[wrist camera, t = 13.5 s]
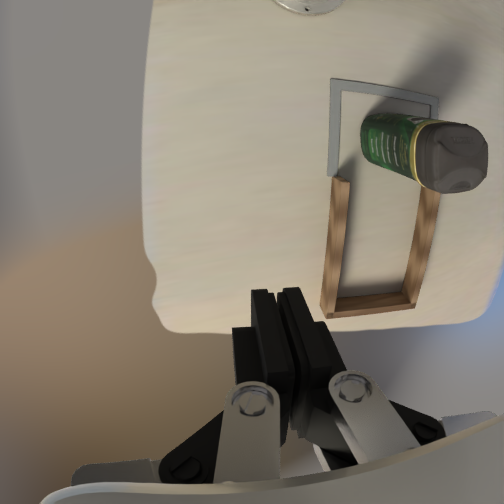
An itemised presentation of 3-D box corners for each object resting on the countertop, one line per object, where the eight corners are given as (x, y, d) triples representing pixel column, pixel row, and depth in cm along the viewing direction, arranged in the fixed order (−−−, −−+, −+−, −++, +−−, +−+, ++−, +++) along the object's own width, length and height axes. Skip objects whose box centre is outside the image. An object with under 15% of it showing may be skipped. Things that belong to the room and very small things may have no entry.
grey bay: (330, 79, 39) (330, 78, 39) (438, 97, 41) (438, 97, 41) (327, 176, 45) (327, 176, 45) (431, 181, 47) (431, 181, 47)
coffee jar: (360, 166, 45) (431, 203, 28) (355, 114, 42) (431, 123, 25) (413, 161, 45) (493, 194, 28) (410, 112, 42) (495, 125, 25)
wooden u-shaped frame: (332, 176, 45) (341, 182, 42) (427, 181, 47) (441, 187, 43) (319, 305, 55) (326, 319, 51) (405, 296, 56) (414, 308, 52)
